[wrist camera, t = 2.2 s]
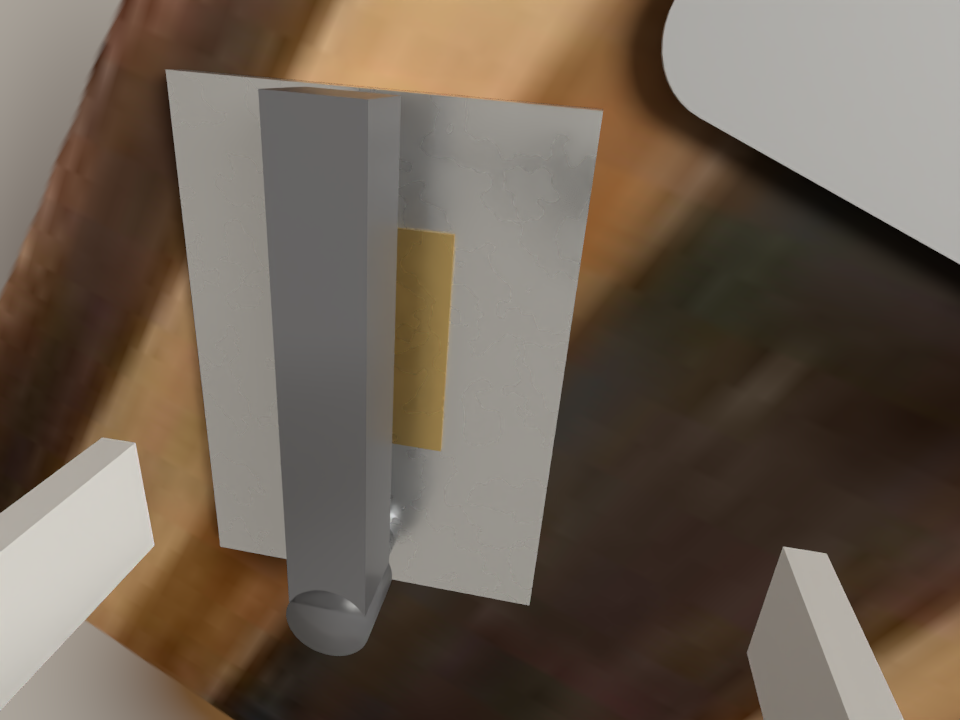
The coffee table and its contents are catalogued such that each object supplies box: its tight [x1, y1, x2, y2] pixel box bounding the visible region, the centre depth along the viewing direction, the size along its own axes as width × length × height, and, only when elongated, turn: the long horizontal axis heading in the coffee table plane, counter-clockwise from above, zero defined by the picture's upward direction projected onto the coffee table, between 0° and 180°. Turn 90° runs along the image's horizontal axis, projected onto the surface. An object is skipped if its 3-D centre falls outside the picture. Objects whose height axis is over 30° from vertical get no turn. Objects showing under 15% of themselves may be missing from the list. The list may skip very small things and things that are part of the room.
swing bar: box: [258, 87, 401, 656], centre depth 30 cm, size 4×27×4 cm, turn 175°
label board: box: [166, 70, 603, 605], centre depth 34 cm, size 20×28×4 cm
